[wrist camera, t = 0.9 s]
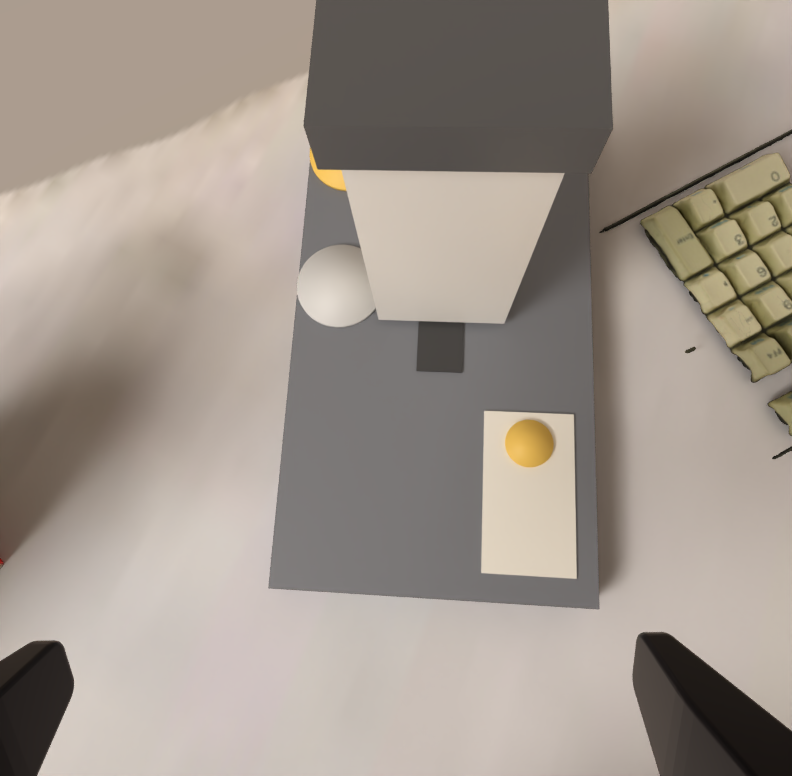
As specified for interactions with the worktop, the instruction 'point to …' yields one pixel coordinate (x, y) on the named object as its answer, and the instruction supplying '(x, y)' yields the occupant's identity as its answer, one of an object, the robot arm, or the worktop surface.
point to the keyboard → (737, 260)
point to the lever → (455, 137)
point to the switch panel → (440, 429)
